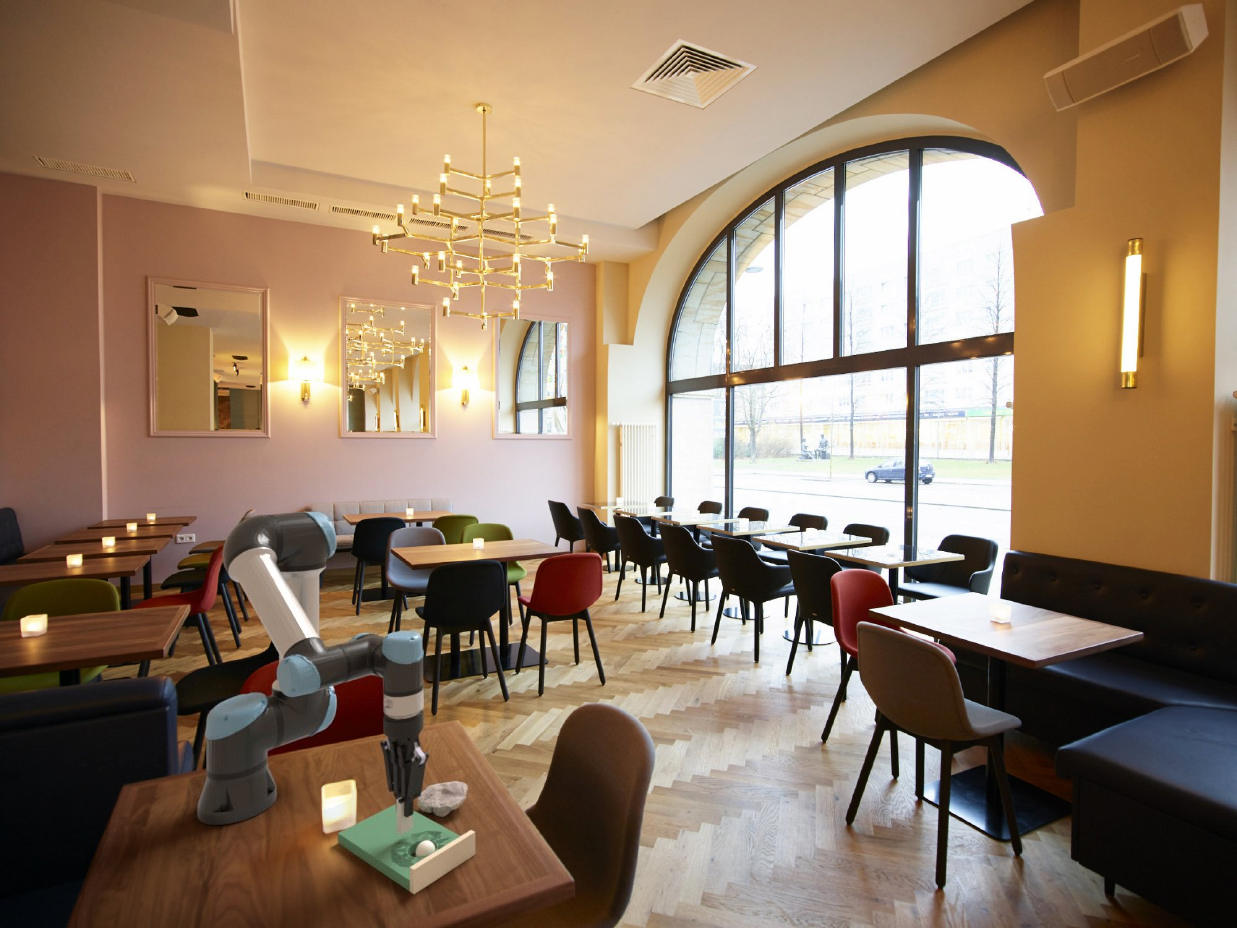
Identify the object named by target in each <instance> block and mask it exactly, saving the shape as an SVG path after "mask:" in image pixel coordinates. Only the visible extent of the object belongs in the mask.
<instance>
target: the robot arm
mask: <svg viewBox="0 0 1237 928" xmlns="http://www.w3.org/2000/svg"><path fill="white" fill-rule="evenodd" d="M336 534H337V533H336V530H335V527H334V525H333V523H332V522H331V520H330V519H329V517H328V516H327V515H326V514H324V513H322V512H319V511H297V512H284V513H275V514H257V515H253V516H250V517H247V518H245V519H243V520H242V521H241V522H239V523H238V524H236V526H234V528H232V529H231V531H230V532H229V533H228V536H227V537H226V539H225V541H224V544H223V549H222V561H223V566H224V568H225V570H226V573H227V575H228V576H229V578H230V579H231V580H232V581H234V582H235V583H236V582H237V583H239V584H240V586H241V588H242V590H243V592H244V593H245V595H246V597H247V599H248V600H249V602H250V604H251V605H252V608H253V610H254V611H255V612H256V616H257V617H258V618H259V620H260V621H261V624H262V625H263V627H264V628H265V631H266V633H267V635H268V637H269V638H270V640H271V641H272V644H273V645H274V647H275V650H276V651H277V652H278V655H279V656H278V659H279V661H278V665H277V668H276V678H277V679H275V680H274V681H273V683H272V684H271V695H268V696H267V695H266V694H264V693H262V692H250V693H244V694H243V693H242V694H238V695H236V696H235V695H234V696H233V697H230V698H227V699H226V700H224V701H221V702H219V703H218V704H217V705H215V706H214V707H213V708H212V709H211V710H210V711H209V713H208V714H207V717H206V729H205V732H204V736H205V744H206V748H205V749H206V753H205V754H206V778H205V783H204V785H203V788H202V792H201V794H200V797H199V800H198V802H197V808H196V809H197V813H196V814H197V819H198V820H199V822H200V823H202V824H205V825H211V826H218V825H219V826H221V825H230V824H235V823H238V822H239V823H240V822H242V821H246V820H249V819H251V818H253V817H256V816H258V815H259V814H262V813H263V812H265V811H266V810H268V809H269V808H270V807H272V805H274V803H275V802H276V800H277V785H276V782H275V780H274V777H273V775H272V772H271V770H270V768H269V765H268V751H271V750H273V749H276V748H278V747H281V746H284V745H287V744H290V743H293V742H296V741H298V740H299V741H300V740H302V739H304V738H308V737H310V738H311V737H312V736H314V735H315V734H317V733H319V732H322V731H323V730H326V729H327V728H329V726H330V725H331V724H332V722H333V720H334V718H335V717H336V711H337V705H338V704H337V703H338V702H337V701H338V700H337V695H336V693H335V688H334V687H335V686H337V685H339V684H343V683H348V682H351V681H354V680H357V679H361V678H364V677H367V676H376V677H379V678H382V685H383V686H382V687H383V688H382V689H383V690H382V691H383V703H382V704H383V705H382V706H383V713H384V715H383V734H384V735H385V737H387V738H386V739H384V740H381V741H380V744H379V745H380V748H381V750H382V755H383V761H384V768H385V775H386V782H387V789H388V792H390V793H393V797H394V798H395V804H396V812H397V833H399V834H401V835H402V834H404V833H405V832H407V831H409V830H411V829H413V813H414V811H415V808H414V807H415V805H414V804H415V803H414V801H415V799H416V800H417V798H418V797H420V796H421V792H423V784H424V778H425V771H426V765H427V762H428V760H429V758H430V754H429V753H428V751H426V752H423V751H422V749H421V741H420V737H419V736H420V734H421V732H422V731H423V729H424V725H425V724H424V723H425V722H424V717H425V716H424V715H425V714H424V711H423V709H424V707H425V705H424V703H425V701H424V697H425V696H424V653H425V652H424V649H423V637H422V635H421V634H420V632H418V631H414V630H399V631H398V630H397V631H393V632H391V633H388V634H386V635H385V636H382V635H380V634H377V633H374V632H373V633H372V632H371V633H368V632H361V633H358V634H355V636H353V637H352V638H350V640H349V641H346V642H344V643H339V644H335V645H330V646H326V644H325V642H323V640H322V638H321V636H320V574H321V573H322V572H323V571H324V570H325V569H326V568H327V559H329V558H331V557H333V556H334V554H335V552H336V550H337V542H338V541H337V540H338V539H337V535H336Z"/></svg>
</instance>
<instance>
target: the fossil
mask: <svg viewBox="0 0 1237 928" xmlns="http://www.w3.org/2000/svg"><path fill="white" fill-rule="evenodd" d="M468 790H469V787H468V785H467V784H466V783H465V782H462V781H457V780H454V781H447V782H442V783H434V784H431V785H428V786H427V787H426V788H424V789H423V790H422V792H421V796H420V797H418V798H416V800H417V807H418V809H420V810H421V811H422V812H423V813H424V812H425V813H433V814H434V816H437V817H441V818H442V817H446V816H447V815H449V814H450V813H451V811H454V810H457V809H458V808H459V807H460V806H461V805H462V804H463V803H464V802H465V801H466V800H467V794H468Z"/></svg>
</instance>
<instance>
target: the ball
mask: <svg viewBox="0 0 1237 928" xmlns="http://www.w3.org/2000/svg"><path fill="white" fill-rule="evenodd" d="M434 851H435V846H434V844H433V843H432V842H431V841H428V840H426V841H423V842H421V843H420V844H419V845H418V846H417V848H416V853H415V857H418V858H421V857H425V856H428V855H430V854H432V853H433V852H434Z"/></svg>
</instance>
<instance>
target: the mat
mask: <svg viewBox="0 0 1237 928" xmlns="http://www.w3.org/2000/svg"><path fill="white" fill-rule="evenodd" d="M426 840H428V841H431V842H432V843H433V844H434V846H435V851H434V852H433V853H432V854H430V855H428V856H425V857H421V858H418V857H416V856H415V857H414V856H412V855H414V854H416V848H417V846H418V845H419V844H420V843H421V842H423V841H426ZM337 843H338V844H339V845H340V846H342V847H343V848H345V849H347V851H349V852H350V853H352V854H353V855H355V856H356V857H358V858H359V859H361V860H362V861H364V862H365V863H367V864H369V866H371V867H373V868H374V869H376V870H377V871H379V872H381V873H382V874H383V875H385V876H386V877H387V878H389V879H391V880H392V881H393V882H396V883H397V884H398V885H399V886H401V887H402V888H404V889H405V890H407V891H408V892H410V893H411V894H412V895H416V893H419V892H420V891H421V890H423V889H424V888H426V887H428V886H429V885H431V884H432V883H434V882H435V881H437V880H439V879H440V878H441V877H443V876H445V875H446V874H447V873H449V872H451V871H452V870H454V869H455V868H457V867H459V866H460V865H461V864H463V863H465V862H466V861H468V860H469V859H471V858H472V857H474V856H475V855H476V831H474V830H473V829H470V830H468V831H467V832H465V833H464V834H462V835H460V834H457V833H456V832H454V831H452V830H450V829H448V828H446V826H445V827H444V826H443V825H441V824H440V823H437V822H436V821H434V820H432V819H430V818H428V817H426V816H425V815H422V814H421V813H419V812H417V811H415V810H414V813H413V829H411V830H409V831H407V832H405V833H404V834H402V835H401V834H399V833H397V812H396V803H395V804H393V805H391V806H389V807H387V808H385V809H383V810H381V811H379V812H377V813H376V814H373V815H371V816H369V817H367V818H365V819H363V820H361V821H359V822H357V823H356V824H354V825H351V826H350V827H347V828H346V829H344V830H342V831H339V832H338V833H337Z"/></svg>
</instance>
